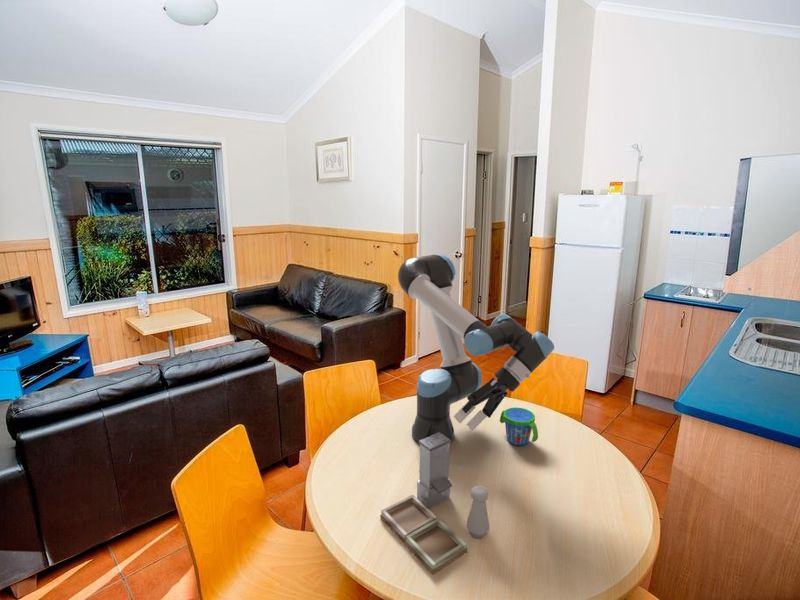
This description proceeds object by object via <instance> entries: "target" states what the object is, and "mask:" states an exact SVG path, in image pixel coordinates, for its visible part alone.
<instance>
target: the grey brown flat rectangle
mask: <svg viewBox="0 0 800 600" xmlns="http://www.w3.org/2000/svg"><path fill="white" fill-rule="evenodd" d="M380 511H381V514H380V520H382V521H383V522H384V523H385V525H386V526H388V528H389V529H390V530H391V531H392V532H393V533H394V535H396V537H398V538H399V540H400V541H401V542H402V543H403V545H405V546H406V547H407V548H408V549H409V551H410V552H411V553H412V554H413V555H414V556H415V557H416V558H417V560H418V561H419V562H420V563H421V564H422V565H423V566H424V567H425V568H426V569H427V570H428V571H429V572H430V574H431V575H435V574H436V573H438V572H439V571H441V570H442V569H444V568H446V567H447V566H448V565H450V564H452V563H454V561H457V560H458V559H459V558H461V557H462V556H464V555H465V554H467V553H468V551H469V550H468V548H467V546H468V545H467V543H466V541H464V540H463V539H462V538H461V537H460V536H459V535H458V534H457V533H456V532H454V531H453V530H452V529H451V528H450V527H449V526H448V525H447V524H445V523H444V522H443V521H442V519H440V518H439V517H438V516H437V515H436V514H435V513H434V512H433V511H431V510H430V509H428V508H427V507H426V506H425V505H424V504H422V503H421V502H420V501H419V500H418V499H417V496H415V495H414V494H411V495H410V496H407V497H405V498H403V499H402V500H399V501H397V502H395V503H392V504H391V505H389V506H387V507H385V508H383V509H382V510H380Z"/></svg>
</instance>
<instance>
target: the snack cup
mask: <svg viewBox="0 0 800 600" xmlns="http://www.w3.org/2000/svg"><path fill="white" fill-rule="evenodd" d="M535 421H536V416H535V414H534V412H532V411H531V410H528V409H527V408H523V407H509V408H507V409H504V410H502V411H501V414H500V418H499V422H500V424H504V425H505V427H504V428H505V435H506V436H505V437H506V440H507V441H508V442H509V443H510V444H512V445H514V446H525V445H528V443H529V441H530V438H531V434H532V439H531V442H532V443H535V442H537V440H538V439H539V431H538V428H537V424H536V422H535Z"/></svg>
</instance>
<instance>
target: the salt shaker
mask: <svg viewBox="0 0 800 600" xmlns="http://www.w3.org/2000/svg"><path fill="white" fill-rule="evenodd" d="M470 491H471V492H470V497H471V499H472V502H471V504H470V505H471V506H470V509H469V513H468V515H467V519H466V528H467V530H468V533H469V534H470V535H471V537H472V538H474V539H479V540H481V539H483V538H484V537H485V536H487V534H488V532H489V530H490V520H489V516H488V508H487V501H488V499H489V491H488V489H487V488H486V487H485V486H482V485H475V486H473V487H472V488H471V490H470Z"/></svg>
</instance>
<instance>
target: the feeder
mask: <svg viewBox="0 0 800 600" xmlns="http://www.w3.org/2000/svg"><path fill="white" fill-rule="evenodd" d="M451 443H452V441H451V440H450V439H449V438H447V437H446V436H444V435H443V434H441V433H440V432H439V433H436V434H434V435H431V436H429V437H427V438H424V439H422V440H419V443H418V444H419V470H418V471H419V473H418V474H419V478H418V479H419V480H417V483H416V484H417V485H416V498H417V499H418V500H419V501H420V502H421V503H422V504H424V505H425V506H426V507H427V508H428V509H429V510H430V509H431V508H433V507H434V506H437V505H439V504H440V503H442V502H444V501H446V500H448V499H450V498H451V488H452V487H453V483H452V482H451V479H450V478H449V474H450V473H449V470H450V445H451Z"/></svg>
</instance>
